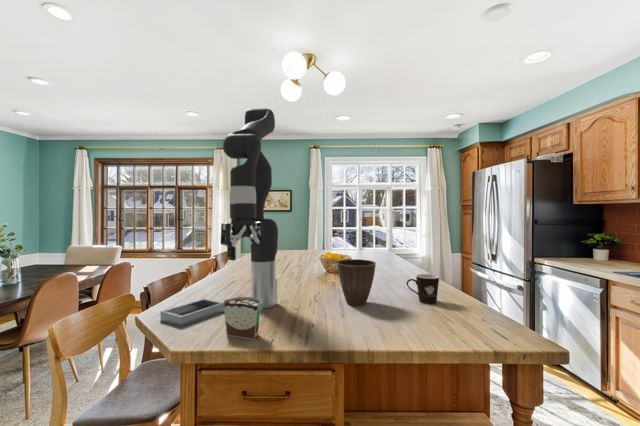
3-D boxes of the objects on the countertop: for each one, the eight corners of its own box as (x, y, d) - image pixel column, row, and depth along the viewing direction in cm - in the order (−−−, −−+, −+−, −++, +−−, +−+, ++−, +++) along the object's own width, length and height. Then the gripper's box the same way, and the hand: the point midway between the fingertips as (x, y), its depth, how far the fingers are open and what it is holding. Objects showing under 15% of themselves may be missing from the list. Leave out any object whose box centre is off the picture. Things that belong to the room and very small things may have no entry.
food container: (270, 332, 87) (270, 298, 87) (259, 340, 82) (259, 304, 82) (235, 327, 91) (234, 294, 91) (222, 335, 86) (222, 300, 86)
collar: (204, 306, 112) (204, 298, 112) (224, 311, 107) (224, 303, 107) (160, 320, 98) (160, 311, 98) (181, 326, 92) (181, 317, 92)
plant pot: (383, 303, 115) (383, 262, 115) (359, 312, 105) (359, 267, 105) (353, 295, 126) (353, 258, 126) (329, 303, 115) (329, 262, 115)
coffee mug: (441, 300, 118) (441, 275, 118) (437, 306, 111) (436, 279, 111) (412, 296, 124) (411, 272, 124) (406, 301, 117) (405, 276, 117)
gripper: (252, 203, 94) (252, 254, 94) (214, 202, 82) (214, 260, 82) (269, 202, 90) (270, 255, 90) (232, 201, 78) (233, 262, 78)
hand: (243, 258), depth 86 cm, fingers open, 8 cm apart
